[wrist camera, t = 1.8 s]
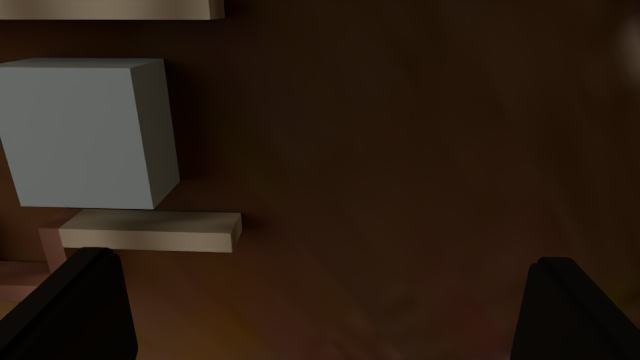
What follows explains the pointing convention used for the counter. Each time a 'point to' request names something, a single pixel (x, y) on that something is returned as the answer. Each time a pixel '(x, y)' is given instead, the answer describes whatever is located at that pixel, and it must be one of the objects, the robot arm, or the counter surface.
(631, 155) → the counter surface
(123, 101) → the gray block
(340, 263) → the counter surface
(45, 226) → the trap channel
